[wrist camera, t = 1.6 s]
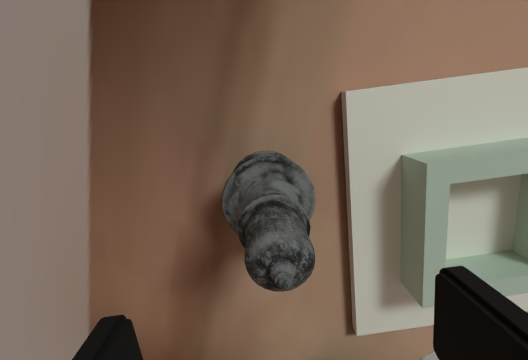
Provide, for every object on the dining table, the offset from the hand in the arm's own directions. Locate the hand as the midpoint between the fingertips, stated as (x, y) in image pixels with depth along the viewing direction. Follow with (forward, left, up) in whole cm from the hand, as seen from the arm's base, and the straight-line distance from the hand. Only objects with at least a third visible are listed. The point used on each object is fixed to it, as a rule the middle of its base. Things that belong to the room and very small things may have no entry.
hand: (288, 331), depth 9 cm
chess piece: (-1, 0, -14) cm, 14 cm away
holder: (+3, +15, -13) cm, 20 cm away
